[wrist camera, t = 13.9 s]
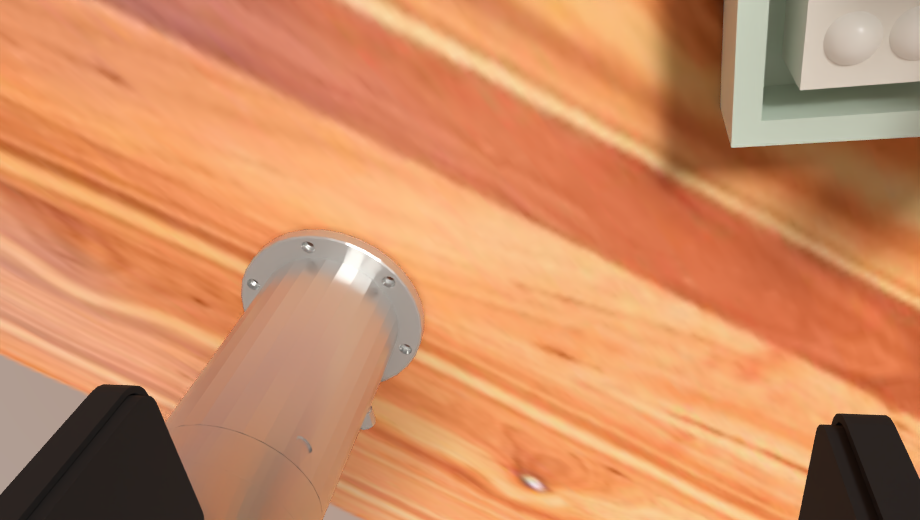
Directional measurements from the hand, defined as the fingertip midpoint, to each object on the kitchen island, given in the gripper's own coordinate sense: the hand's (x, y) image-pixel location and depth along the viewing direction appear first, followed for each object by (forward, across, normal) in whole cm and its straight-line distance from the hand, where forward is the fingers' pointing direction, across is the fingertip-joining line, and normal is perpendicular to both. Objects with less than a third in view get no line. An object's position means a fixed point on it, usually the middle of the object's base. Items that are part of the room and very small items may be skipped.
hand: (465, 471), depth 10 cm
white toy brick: (+29, -13, -1) cm, 32 cm away
